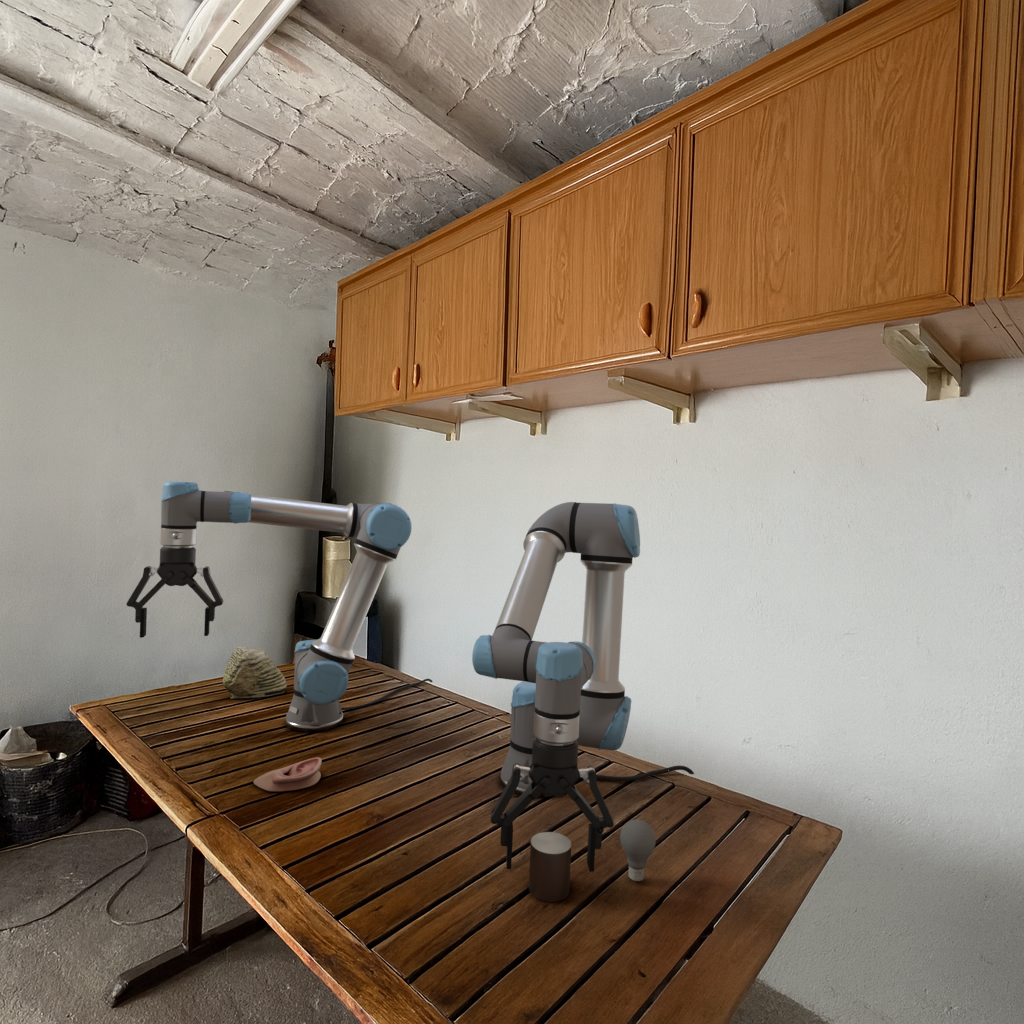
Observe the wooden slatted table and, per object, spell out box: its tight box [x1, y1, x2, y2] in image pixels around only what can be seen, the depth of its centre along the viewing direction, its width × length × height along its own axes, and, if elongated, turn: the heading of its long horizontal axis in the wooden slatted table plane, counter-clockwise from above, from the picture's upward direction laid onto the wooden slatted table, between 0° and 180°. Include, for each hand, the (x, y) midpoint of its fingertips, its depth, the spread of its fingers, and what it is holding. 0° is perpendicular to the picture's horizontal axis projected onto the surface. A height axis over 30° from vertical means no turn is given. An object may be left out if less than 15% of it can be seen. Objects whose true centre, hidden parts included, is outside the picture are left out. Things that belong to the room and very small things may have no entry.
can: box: [528, 831, 572, 903], centre depth 105 cm, size 7×7×8 cm
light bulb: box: [619, 819, 657, 882], centre depth 109 cm, size 6×6×10 cm
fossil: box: [222, 646, 288, 699], centre depth 198 cm, size 9×18×15 cm, turn 132°
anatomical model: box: [253, 757, 323, 792], centre depth 140 cm, size 13×4×12 cm
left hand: (175, 635), depth 150 cm, fingers open, 13 cm apart
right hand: (549, 866), depth 105 cm, fingers open, 13 cm apart
